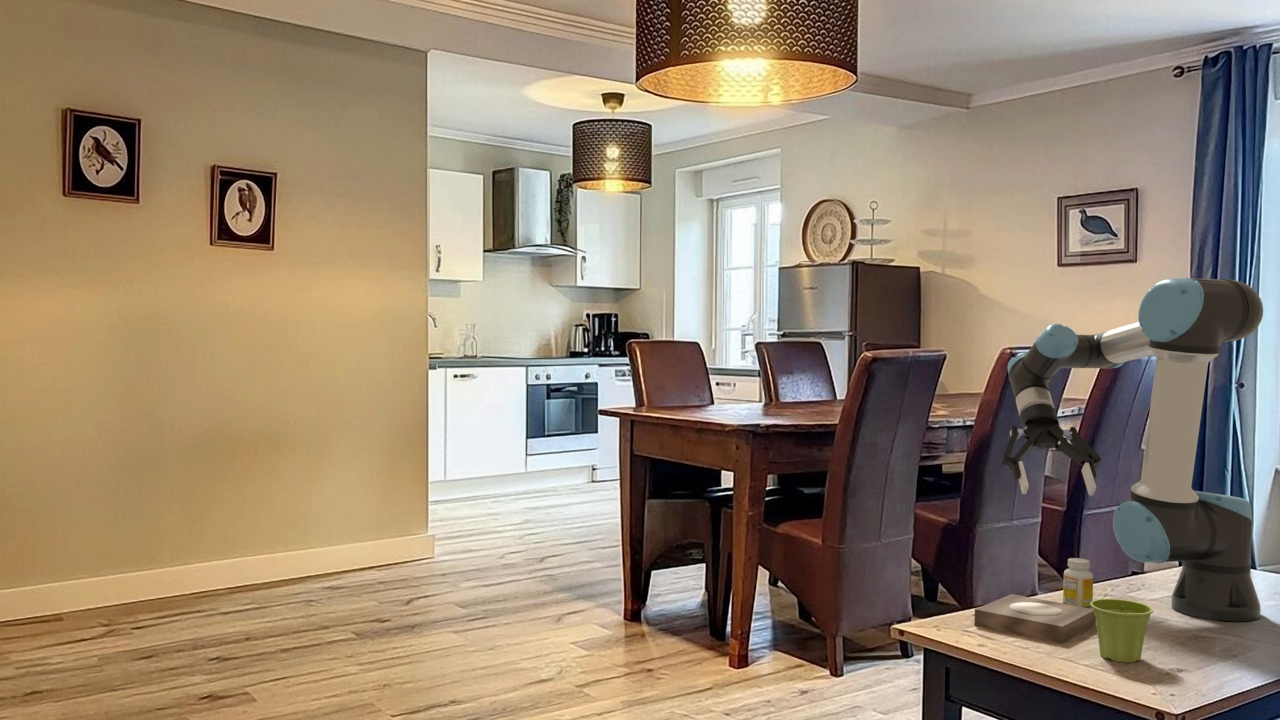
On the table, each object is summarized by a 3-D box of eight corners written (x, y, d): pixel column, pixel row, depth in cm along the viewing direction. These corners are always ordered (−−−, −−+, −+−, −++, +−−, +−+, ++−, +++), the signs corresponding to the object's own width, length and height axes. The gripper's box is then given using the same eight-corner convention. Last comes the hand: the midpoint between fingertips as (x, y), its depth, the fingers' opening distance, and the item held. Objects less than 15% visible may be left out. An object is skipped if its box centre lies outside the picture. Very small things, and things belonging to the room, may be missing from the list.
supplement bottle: (1064, 610, 200) (1065, 561, 199) (1061, 604, 205) (1062, 556, 204) (1094, 613, 198) (1095, 563, 198) (1090, 606, 203) (1091, 558, 203)
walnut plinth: (1095, 625, 189) (1096, 608, 189) (1062, 643, 178) (1062, 625, 178) (1011, 609, 200) (1011, 593, 200) (974, 625, 189) (974, 608, 189)
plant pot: (1159, 668, 164) (1160, 614, 164) (1096, 664, 166) (1097, 611, 166) (1143, 651, 174) (1143, 600, 174) (1083, 647, 176) (1084, 597, 175)
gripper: (1090, 424, 228) (1115, 502, 214) (976, 422, 230) (993, 500, 215) (1099, 402, 223) (1126, 481, 209) (983, 400, 225) (1001, 478, 210)
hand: (1059, 491), depth 212 cm, fingers open, 13 cm apart
